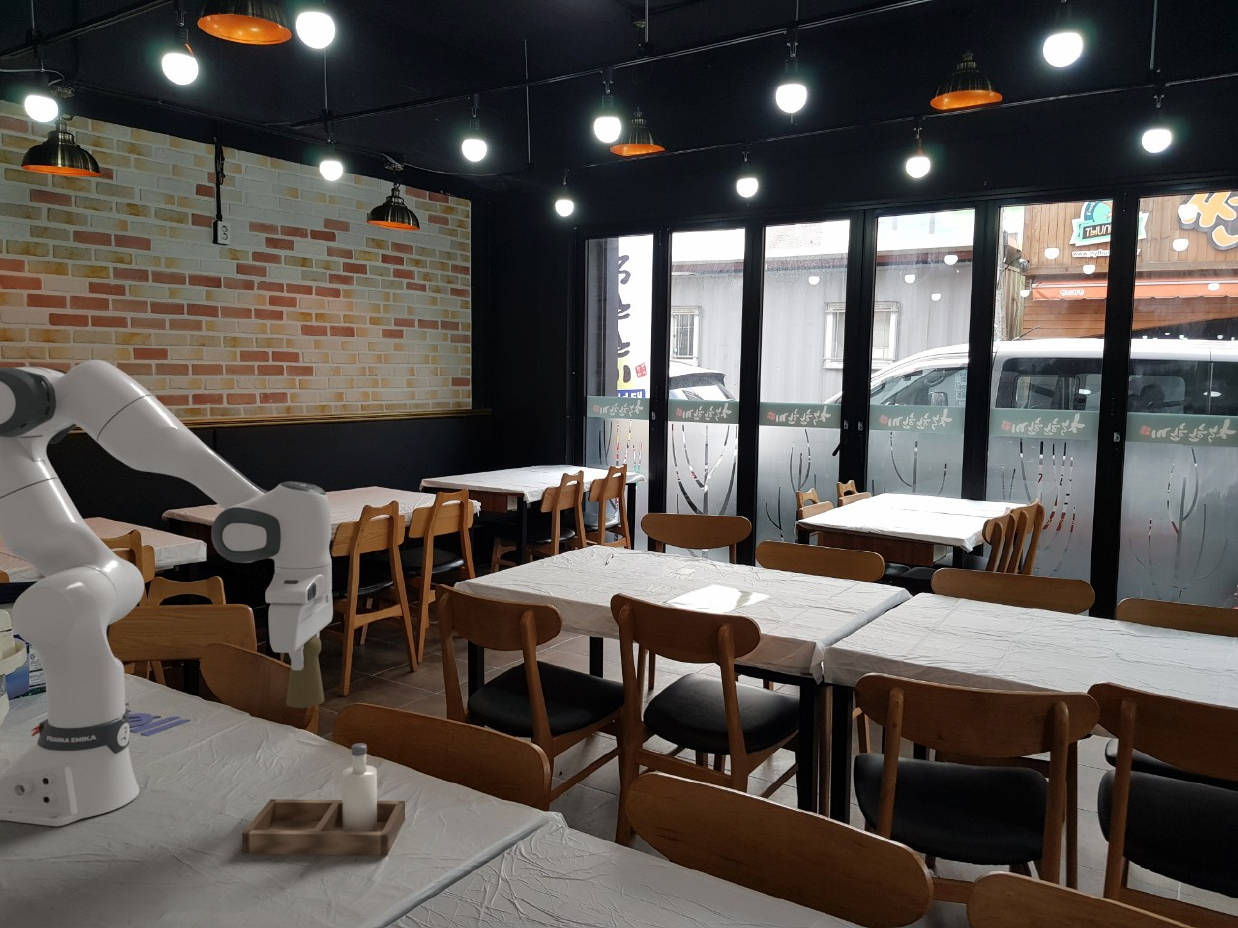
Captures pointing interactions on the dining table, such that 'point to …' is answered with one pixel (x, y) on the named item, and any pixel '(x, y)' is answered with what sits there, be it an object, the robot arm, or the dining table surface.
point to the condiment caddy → (319, 829)
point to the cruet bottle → (359, 793)
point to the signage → (147, 718)
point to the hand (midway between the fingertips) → (304, 663)
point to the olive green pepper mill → (306, 679)
